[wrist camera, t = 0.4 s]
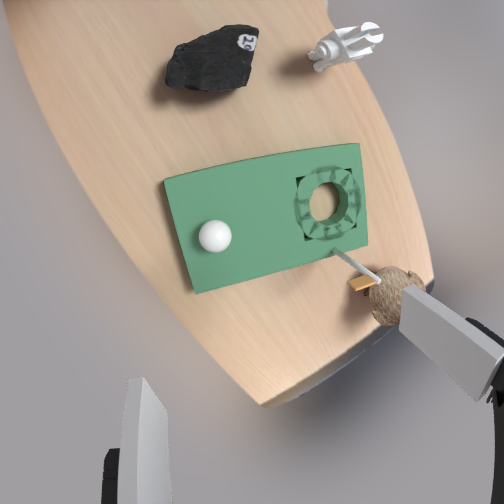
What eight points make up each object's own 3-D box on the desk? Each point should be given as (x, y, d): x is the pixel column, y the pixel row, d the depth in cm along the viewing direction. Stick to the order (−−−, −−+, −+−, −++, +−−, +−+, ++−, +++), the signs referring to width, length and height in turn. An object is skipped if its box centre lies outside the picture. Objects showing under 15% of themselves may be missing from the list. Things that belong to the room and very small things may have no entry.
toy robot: (348, 66, 30) (406, 44, 19) (303, 80, 30) (355, 54, 19) (336, 42, 29) (389, 13, 18) (289, 54, 28) (335, 18, 17)
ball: (194, 221, 31) (195, 228, 27) (225, 213, 31) (230, 220, 28) (202, 249, 32) (204, 260, 29) (231, 242, 32) (237, 252, 29)
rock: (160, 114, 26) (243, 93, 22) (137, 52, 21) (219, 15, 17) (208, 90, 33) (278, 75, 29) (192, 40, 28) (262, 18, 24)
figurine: (364, 316, 45) (417, 368, 31) (342, 279, 41) (403, 333, 27) (401, 282, 44) (460, 324, 31) (384, 242, 40) (454, 280, 27)
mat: (165, 178, 31) (152, 191, 19) (349, 143, 34) (413, 145, 23) (194, 285, 36) (201, 344, 24) (358, 240, 39) (415, 272, 28)
